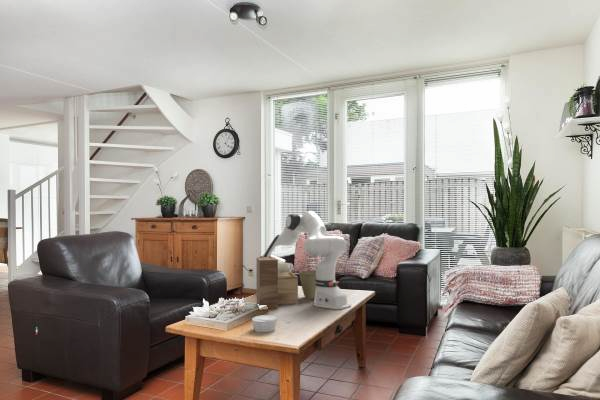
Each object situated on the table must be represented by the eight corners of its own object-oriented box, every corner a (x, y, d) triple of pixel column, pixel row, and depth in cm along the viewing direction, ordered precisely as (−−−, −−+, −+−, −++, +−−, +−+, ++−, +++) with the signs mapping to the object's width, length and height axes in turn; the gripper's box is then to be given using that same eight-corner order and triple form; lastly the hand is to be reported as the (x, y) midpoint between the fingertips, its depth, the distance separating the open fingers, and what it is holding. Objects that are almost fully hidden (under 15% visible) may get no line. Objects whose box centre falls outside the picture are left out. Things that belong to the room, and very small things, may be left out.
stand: (302, 307, 233) (302, 257, 234) (259, 310, 228) (259, 259, 228) (290, 295, 266) (290, 251, 266) (252, 297, 260) (252, 252, 261)
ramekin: (253, 334, 186) (253, 322, 186) (250, 327, 197) (250, 315, 197) (278, 332, 188) (278, 320, 188) (274, 325, 199) (274, 314, 199)
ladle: (290, 271, 248) (290, 264, 248) (280, 272, 247) (280, 264, 247) (283, 265, 272) (283, 258, 272) (273, 266, 271) (273, 259, 271)
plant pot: (323, 300, 252) (323, 273, 252) (298, 300, 252) (298, 273, 253) (322, 295, 267) (322, 269, 267) (299, 295, 267) (299, 269, 267)
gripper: (260, 267, 279) (262, 259, 268) (290, 266, 284) (294, 258, 272) (260, 276, 276) (263, 268, 265) (291, 275, 281) (295, 267, 269)
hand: (279, 263), depth 269 cm, fingers closed on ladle, 3 cm apart
